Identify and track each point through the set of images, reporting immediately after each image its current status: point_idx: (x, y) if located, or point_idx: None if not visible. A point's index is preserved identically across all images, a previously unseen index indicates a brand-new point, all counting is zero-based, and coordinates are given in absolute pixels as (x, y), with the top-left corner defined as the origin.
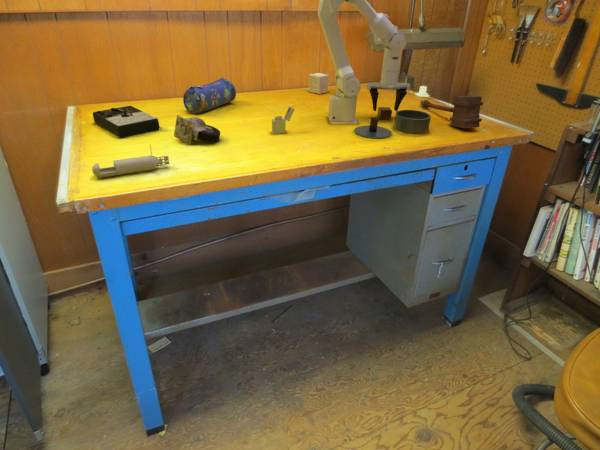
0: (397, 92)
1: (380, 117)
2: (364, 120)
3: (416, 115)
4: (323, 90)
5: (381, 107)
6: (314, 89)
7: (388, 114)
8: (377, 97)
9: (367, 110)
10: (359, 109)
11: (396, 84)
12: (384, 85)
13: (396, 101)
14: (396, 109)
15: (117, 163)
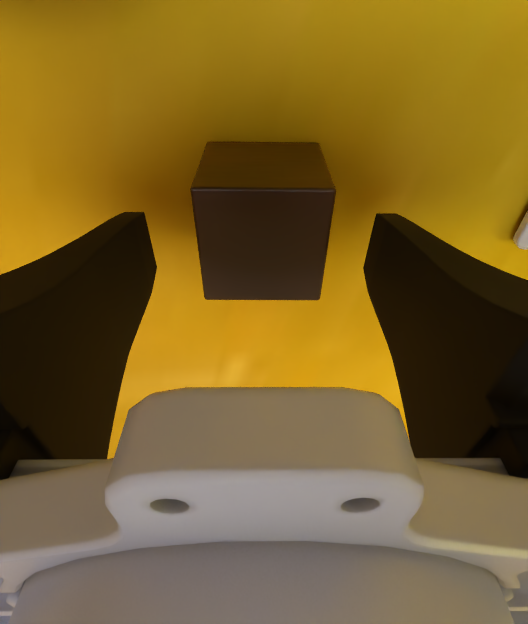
0: (79, 423)
1: (319, 154)
2: (452, 172)
3: None
4: None
5: (292, 288)
6: None
7: (232, 168)
8: (473, 287)
9: (317, 380)
10: None
11: (24, 598)
12: (502, 543)
13: (118, 310)
14: (130, 218)
15: None
